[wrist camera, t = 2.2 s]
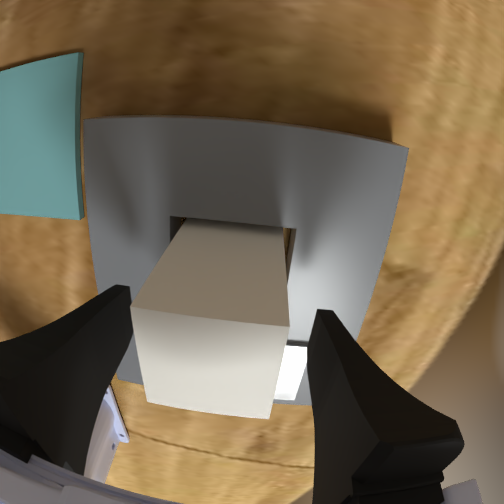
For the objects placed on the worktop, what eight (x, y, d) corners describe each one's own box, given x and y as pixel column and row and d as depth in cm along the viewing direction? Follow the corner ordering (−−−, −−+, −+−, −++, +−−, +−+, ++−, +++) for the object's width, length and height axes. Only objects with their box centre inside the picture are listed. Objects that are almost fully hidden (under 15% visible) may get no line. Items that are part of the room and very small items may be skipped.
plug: (270, 298, 18) (268, 419, 11) (190, 288, 18) (147, 401, 11) (282, 221, 16) (289, 327, 9) (191, 212, 16) (129, 306, 9)
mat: (84, 216, 16) (79, 220, 16) (-14, 209, 16) (-19, 212, 16) (83, 53, 12) (78, 52, 12) (-21, 80, 12) (-27, 80, 12)
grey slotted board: (326, 383, 21) (329, 409, 19) (127, 359, 21) (116, 382, 19) (392, 141, 14) (411, 149, 12) (104, 116, 14) (80, 120, 12)
